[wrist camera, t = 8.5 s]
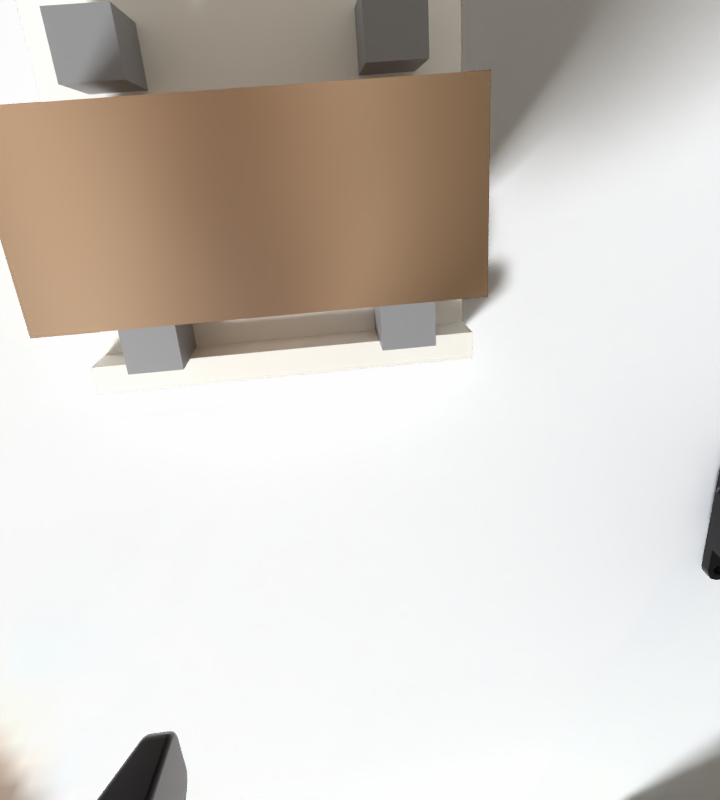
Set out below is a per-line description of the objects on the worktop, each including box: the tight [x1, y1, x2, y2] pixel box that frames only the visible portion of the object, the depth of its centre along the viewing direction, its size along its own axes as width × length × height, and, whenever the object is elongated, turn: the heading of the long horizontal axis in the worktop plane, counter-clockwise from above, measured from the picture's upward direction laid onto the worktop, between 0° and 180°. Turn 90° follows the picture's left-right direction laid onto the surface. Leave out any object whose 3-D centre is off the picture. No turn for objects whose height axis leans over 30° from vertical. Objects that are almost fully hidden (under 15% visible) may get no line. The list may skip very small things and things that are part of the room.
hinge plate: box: [15, 0, 473, 394], centre depth 16 cm, size 11×10×3 cm
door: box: [0, 70, 490, 338], centre depth 13 cm, size 10×4×6 cm, turn 94°
